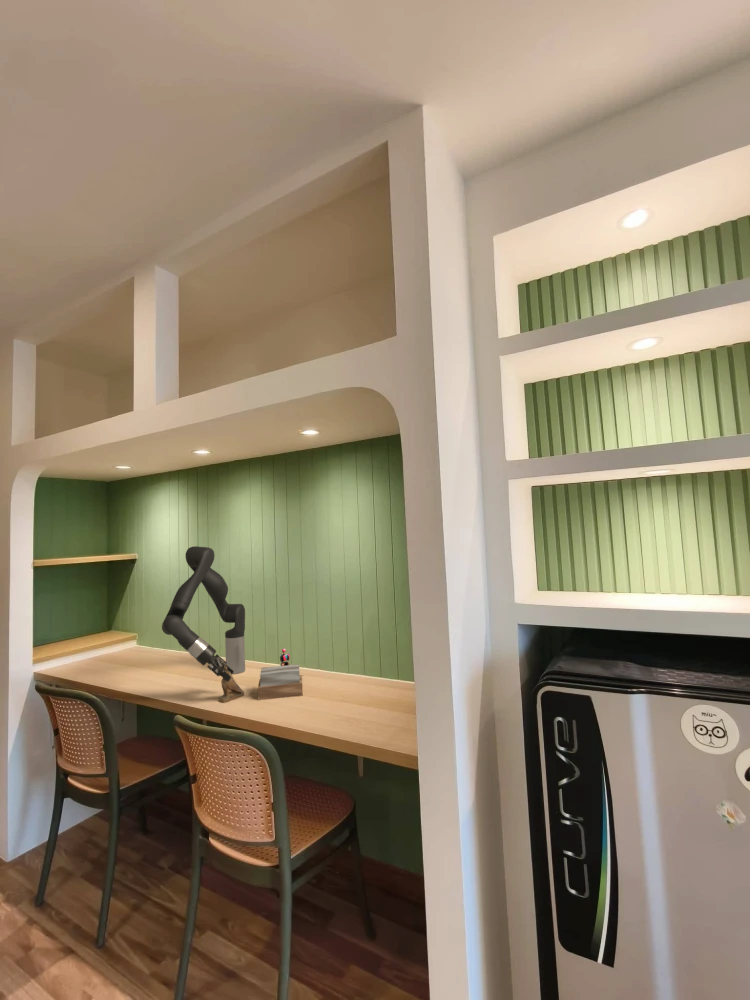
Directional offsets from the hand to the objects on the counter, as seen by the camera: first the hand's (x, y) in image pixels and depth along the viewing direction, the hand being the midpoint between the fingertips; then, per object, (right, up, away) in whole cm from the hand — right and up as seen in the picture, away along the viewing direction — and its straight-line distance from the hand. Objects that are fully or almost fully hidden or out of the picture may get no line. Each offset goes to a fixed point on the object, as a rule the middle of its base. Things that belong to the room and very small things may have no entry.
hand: (230, 676), depth 204 cm
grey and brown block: (+20, -8, +3) cm, 22 cm away
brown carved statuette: (+1, -9, 0) cm, 9 cm away
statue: (+20, -10, +20) cm, 30 cm away
